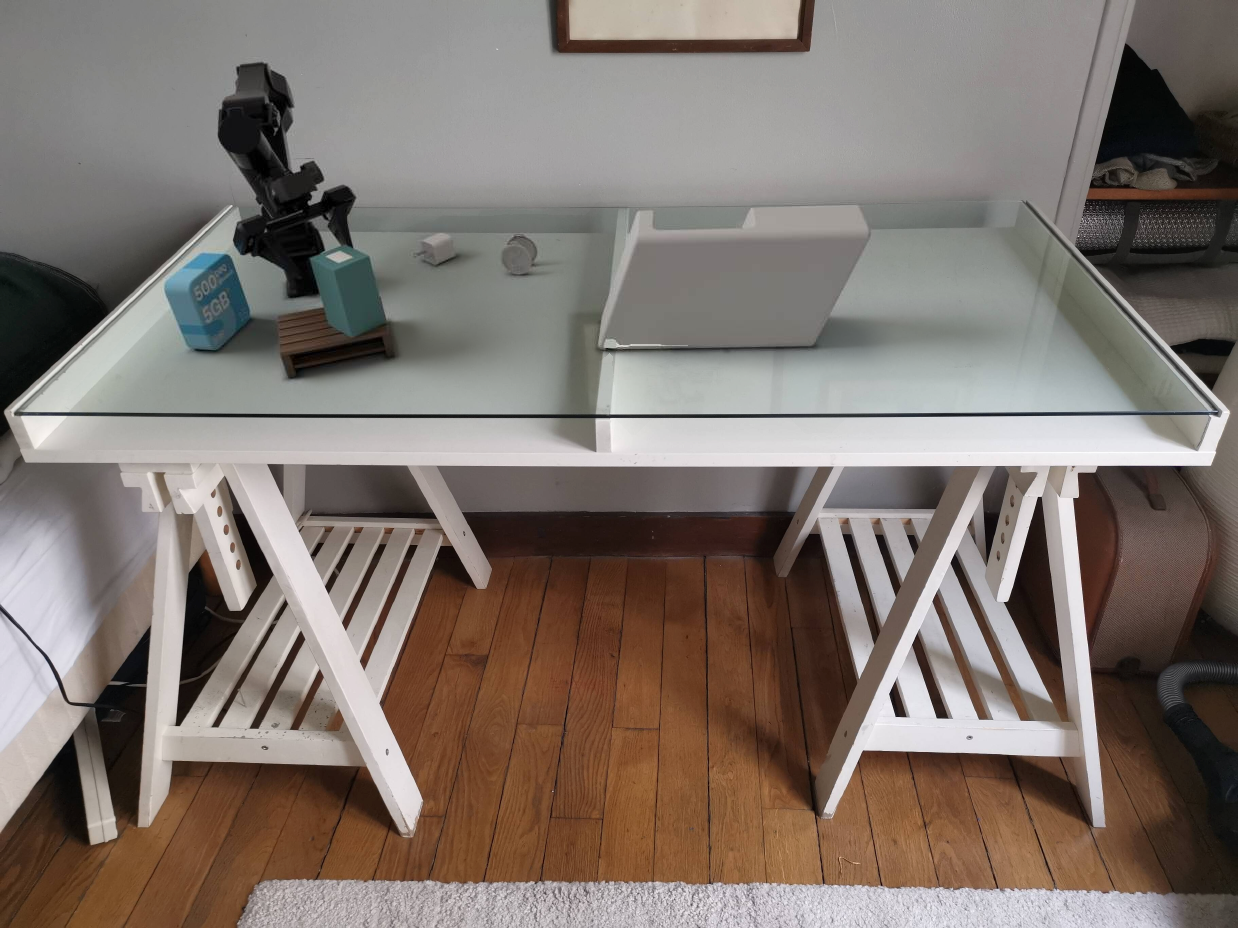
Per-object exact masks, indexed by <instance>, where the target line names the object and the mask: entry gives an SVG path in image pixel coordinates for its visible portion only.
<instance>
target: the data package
mask: <svg viewBox="0 0 1238 928" xmlns="http://www.w3.org/2000/svg"><path fill="white" fill-rule="evenodd" d="M163 292H164V294H165V297H166V299H167V301H168V304H169V307H170V309H171V311H172V314H173V316H174V318H175V321H176V324H177V326H178V328H179V330H180V333H181V336H182V338H183V341H184V343H185V345H186V346H187V348H189V349H192V350H204V351H205V350H206V351H207V350H208V351H218V350H219V349H221V347H222V346H224V344H226V343H227V342H228V341H229V340H230V339H231V338H232V337H233V336H234V335H235V334H236V333H237V332H238V331H239V330H240V329H241V328H242V327H243V326H245V325H246V323H248V322H249V320H250V317H251V309H250V306H249V303H248V301H247V297H246V294H245V291H244V289H243V286H242V284H241V280H240V278H239V275H238V272H237V269H236V266H235V263H234V260H233V258H232V257H231V255H229V254H227V253H213V252H212V253H210V252H200V253H199V254H198V255H196V256H195V257H194V258H193V259H191V260H190V261H188V263H186V264H185V265H183V266H182V267H181V268H179V269H178V270H177V271H176V272H175V273H173V274H172V275H171V276H169V277H167V279H166V280H165V282H164V285H163Z"/></svg>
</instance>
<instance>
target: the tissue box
mask: <svg viewBox="0 0 1238 928" xmlns="http://www.w3.org/2000/svg"><path fill="white" fill-rule="evenodd" d="M353 248H354V247H353ZM353 248H351V247H349V246H347V245H345V244H344V245H342V246H341V245H340V246H336V247H334V248H332V249H329V250H327V251H324V252H322V253H321V254H319V255H317V256H314V257H311V258H310V262H311V265H312V269H313V272H314V275H315V279H316V282H317V286H318V289H319V292H318V293H319V296H320V300H321V303H322V306H323V307H324V310H325V313H326V317H327V320H328V324H329V325H330V326H332V327H334V328H336V329H337V330H339V331H341V332H343V333H344V334H346V335H348V336H349V337H351V338H354V337H356V336H358V335H360V334H362V333H365V332H367V331H369V330H371V329H373V328H375V327H378V326H380V325H382V324H384V323H386V322H385V318H384V314H383V310H382V306H381V301H382V300H381V301H380V297H381V296H380V294H379V290H378V289H379V288H378V286H377V282H376V278H375V273H374V270H373V269H374V268H373V265H372V261H371V257H370V255H368V254H366V253H364V252H362V251H360V250H358V249H355V248H354V249H353Z"/></svg>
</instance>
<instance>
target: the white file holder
mask: <svg viewBox="0 0 1238 928" xmlns="http://www.w3.org/2000/svg"><path fill="white" fill-rule="evenodd" d="M655 215H656V214H655V210H651V209H650V210H637V212H636V214H635V217H634V220H633V223H632V226H631V228H630V232H629V234H628V239H627V240H626V244H625V247H624V250H623V252H622V256H621V259H620V261H619V264H618V268H617V271H616V273H615V276H614V279H613V282H612V285H611V288H610V291H609V294H608V297H607V299H606V303H605V306H604V309H603V312H602V315H601V320H600V326H599V334H598V342H597V347H598V349H599V350H605V349H604V347H603V345H604V342H605V340H606V339H614V340H616V342H617V343H618V344H619V345H630V344H661V345H688V346H629V347H617V349H616V350H651V349H652V350H654V349H655V350H656V349H657V350H658V349H660V350H663V349H713V348H714V349H716V348H718V349H719V348H720V349H722V348H726V349H727V348H777V347H778V348H781V347H783V348H784V347H787V348H788V347H812V346H814V345H815V343H816V342H817V340H818V338H819V336H820V334H821V333H822V330H823V329H824V327H825V325H826V323H827V321H828V319H829V317H830V315H831V313H832V311H833V309H834V307H835V306H836V304H837V302H838V300H839V298H840V297H841V295H842V293H843V290H844V288H845V287H846V286H847V283H848V280H849V279H850V277H851V275H852V274H853V271H854V269H855V268H856V265H857V264H858V262H859V260H860V258H861V256H862V254H863V252H864V250H865V248H866V247H867V244H868V243H869V241H870V239H871V235H872V230H871V228H870V226H869V223H868V221H867V219H866V216H865V213H864V211H863V209H862V207H861V205H860V204H840V205H839V204H837V205H836V204H835V205H801V206H800V205H799V206H797V205H796V206H761V207H760V206H758V207H751V208H749V210H748V213H747V215H746V217H745V220H744V222H743V224H742V227H741V228H735V227H734V228H704V229H703V228H702V229H701V228H700V229H698V228H697V229H656V228H655Z"/></svg>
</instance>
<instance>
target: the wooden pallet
mask: <svg viewBox="0 0 1238 928" xmlns="http://www.w3.org/2000/svg"><path fill="white" fill-rule="evenodd" d="M379 297H380V301H381V306H382V310H383V314H384V318H385V322H386V323H384V324H382V325H380V326H378V327H375V328H373V329H371V330H369V331H367V332H365V333H362V334H360V335H358V336H356V337H354V338H351V337H349V336H348V335H346V334H344V333H343V332H341V331H339V330H337V329H336V328H334V327H332V326H330V325H329V324H328V320H327V317H326V313H325V310H324V306H323V307H322V306H321V307H316V308H311V309H306V310H302V311H301V310H300V311H296V312H295V311H294V312H290V313H285V314H280V315H277V322H278V323H277V324H278V325H277V327H278V346H279V348H278V349H279V355H280V358H281V361H282V365H283V367H284V370H285V373H286V376H287V378H288V379H291V378H297V369H301V368H306V367H310V366H316V365H322V364H326V363H331V362H336V361H339V360H345V359H349V358H351V359H352V358H355V357H361V356H365V355H370V354H374V353H380V352H384V351H385V353H386V358H387V359H389V358H393V357H394V358H395V357H396V354H395V349H394V345H393V341H392V337H391V332H390V328H389V326H388V321H387V317H386V312H385V309H384V305H383V301H382V296H379ZM381 339H382V340H381ZM376 340H380V341H376ZM372 341H376V342H372ZM366 342H372V343H366ZM360 343H366V344H361V345H356V344H360ZM350 345H356V346H351V347H347V346H350ZM342 347H345V348H342ZM335 348H341V349H336V350H333V349H335ZM331 349H332V351H327V350H331ZM320 351H326V352H322V353H316V352H320ZM311 353H316V354H311ZM306 354H307V355H306ZM308 354H311V355H308ZM301 355H306V356H301ZM296 356H301V357H297V358H296Z"/></svg>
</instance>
